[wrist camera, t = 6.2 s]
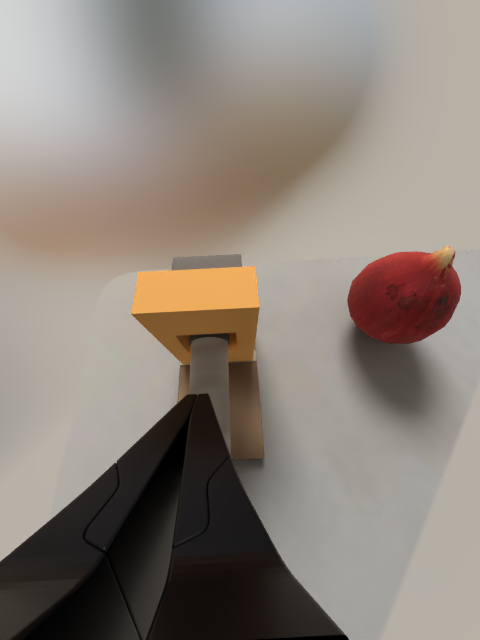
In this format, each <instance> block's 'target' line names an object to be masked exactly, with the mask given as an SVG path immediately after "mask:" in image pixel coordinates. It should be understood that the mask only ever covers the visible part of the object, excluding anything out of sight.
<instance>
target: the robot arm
mask: <svg viewBox="0 0 480 640" xmlns="http://www.w3.org/2000/svg"><path fill="white" fill-rule="evenodd" d="M0 640H349V639H348V637H347V636H346V635H345V634H344V633H343V631H342V630H341V629H340V628H339V627H338V626H337V625H336V624H335V622H334V621H333V620H332V619H331V618H330V617H329V616H328V614H327V613H326V612H325V611H324V610H323V609H322V608H321V607H320V605H319V604H318V603H317V602H316V601H315V600H314V599H313V597H312V596H311V595H310V594H309V593H308V592H307V591H306V590H305V588H304V587H303V586H302V585H301V584H300V583H299V582H298V580H297V579H296V578H295V577H294V576H293V575H292V573H291V572H290V570H289V569H288V568H287V566H286V565H285V563H284V561H283V560H282V558H281V557H280V555H279V553H278V552H277V550H276V548H275V546H274V544H273V543H272V541H271V539H270V537H269V535H268V533H267V531H266V530H265V528H264V526H263V524H262V522H261V520H260V518H259V516H258V515H257V513H256V511H255V509H254V507H253V505H252V503H251V501H250V500H249V498H248V496H247V493H246V491H245V489H244V487H243V485H242V483H241V481H240V479H239V476H238V474H237V471H236V469H235V466H234V463H233V460H232V458H231V455H230V452H229V449H228V447H227V444H226V441H225V438H224V435H223V433H222V430H221V427H220V424H219V421H218V419H217V416H216V413H215V410H214V407H213V404H212V402H211V399H210V396H209V394H208V393H201V394H198V395H197V394H187V395H186V396H184V397H183V398H182V399H181V400H180V401H179V402H178V403H177V404H176V405H175V406H174V407H173V408H172V409H171V410H170V411H169V412H168V413H167V414H166V415H165V416H164V417H162V418H161V419H160V420H159V421H158V422H157V423H156V424H155V425H154V426H153V427H152V428H151V429H150V430H149V431H148V432H147V433H146V434H145V435H144V436H143V437H141V438H140V439H139V440H138V441H137V442H136V443H135V444H134V445H133V446H132V447H131V448H130V449H129V450H128V451H127V452H126V453H125V454H124V455H123V456H122V457H121V458H119V459H118V460H117V464H116V463H114V464H113V465H112V466H111V467H110V468H109V469H108V470H107V471H106V472H105V473H104V474H103V475H101V476H100V477H99V478H98V479H97V480H96V481H95V482H94V483H93V484H92V485H91V486H89V487H88V488H87V489H86V490H85V491H84V492H83V493H82V494H80V495H79V496H78V497H77V498H76V499H75V500H73V501H72V502H71V503H70V504H69V505H68V506H66V507H65V508H64V509H63V510H62V511H60V512H59V513H58V514H57V515H56V516H54V517H53V518H52V519H51V520H50V521H48V522H47V523H46V524H45V525H44V526H43V527H41V528H40V529H39V530H38V531H37V532H35V533H34V534H33V535H32V536H31V537H29V538H28V539H27V540H26V541H25V542H23V543H22V544H21V545H20V546H19V547H17V548H16V549H15V550H14V551H13V552H11V553H10V554H9V555H8V556H7V557H5V558H4V559H3V560H2V561H1V562H0Z"/></svg>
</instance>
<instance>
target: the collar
mask: <svg viewBox="0 0 480 640" xmlns="http://www.w3.org/2000/svg"><path fill="white" fill-rule="evenodd" d="M131 314H132V315H133V316H134V317H135V318H136V319H137V320H138V321H139V322H140V323H141V324H142V325H143V326H144V327H145V328H146V329H147V330H148V331H149V332H150V333H151V334H152V335H153V336H154V337H155V338H156V339H157V340H158V341H160V342H161V343H162V344H163V345H164V346H165V347H166V348H167V349H168V350H169V351H170V352H171V353H172V354H173V355H174V356H175V357H176V358H177V359H178V360H179V361H180V362H181V363H182V364H190V361H191V345H190V335H198V334H218V333H229V337H230V344H229V345H228V362H233V361H252V360H253V353H254V345H255V337H256V330H257V322H258V314H259V298H258V288H257V278H256V268H255V266H249V267H230V268H210V269H190V270H170V271H151V272H139V273H138V278H137V284H136V289H135V295H134V300H133V306H132V311H131Z"/></svg>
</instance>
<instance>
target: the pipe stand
mask: <svg viewBox="0 0 480 640" xmlns="http://www.w3.org/2000/svg"><path fill="white" fill-rule="evenodd" d="M230 267H242V262H241V254H238V255H217V256H197V257H177V258H173V262H172V270H190V269H210V268H230ZM229 344H230V337H229V333H218V334H198V335H190V345H191V361H190V364H182V363H181V362H180V376H179V390H178V402H179V401H180V400H181V399H182V398H183V397H184V396H186V395H187V394H197V395H198V394H201V393H208V394H209V396H210V399H211V402H212V404H213V407H214V410H215V413H216V416H217V419H218V421H219V424H220V427H221V430H222V433H223V435H224V438H225V441H226V444H227V447H228V449H229V452H230V455H231V458H232V460H245V459H264V448H263V436H262V424H261V412H260V400H259V387H258V375H257V363H256V350H255V345H254V353H253V360H252V361H233V362H228V345H229Z"/></svg>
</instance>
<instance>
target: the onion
mask: <svg viewBox="0 0 480 640" xmlns="http://www.w3.org/2000/svg"><path fill="white" fill-rule="evenodd" d="M454 257H455V251H454V250H453V249H452V248H451V247H449V246H446V247H444V248H443V249H442V250H441V251H436V252H434V253H432V254H430V253H424V252H399V253H394V254H391V255H388V256H385V257H383V258H380V259H378V260H376V261H374V262H372V263H370V264H368V265H367V266H366V267H365V268H364V269H363V270H362V271H361V273H360V274H359V275H358V276H357V277H356V278H355V279H354V280H353V281H352V284H351V287H350V291H349V295H348V300H347V301H348V306H349V312H350V316H351V318H352V319H353V321H354V322H355V324H356V326H357V327H358V328H359V329H361V330H362V331H363V332H364V333H366V334H367V335H368V336H370V337H372V338H375V339H377V340H380V341H382V342H386V343H391V344H405V343H413V342H417V341H421V340H423V339H425V338H426V337H428V336H430V335H432V334H433V333H435V332H437V331H438V330H440V329H442V328H443V327H445V325H446V324H447V323H448V322H449V320H450V319H451V317H452V315H453V313H454V311H455V308H456V306H457V304H458V302H459V300H460V295H461V285H460V281H459V277H458V275H457V272H456V271H455V270H454V268H453V267H452V262H453V260H454Z"/></svg>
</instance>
